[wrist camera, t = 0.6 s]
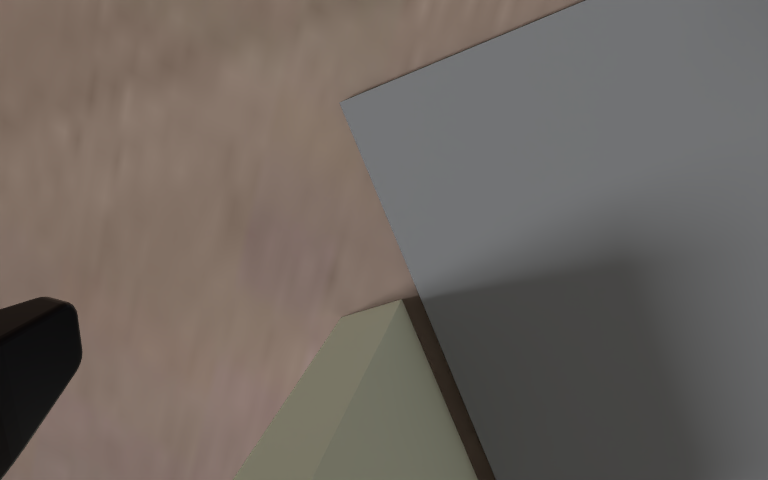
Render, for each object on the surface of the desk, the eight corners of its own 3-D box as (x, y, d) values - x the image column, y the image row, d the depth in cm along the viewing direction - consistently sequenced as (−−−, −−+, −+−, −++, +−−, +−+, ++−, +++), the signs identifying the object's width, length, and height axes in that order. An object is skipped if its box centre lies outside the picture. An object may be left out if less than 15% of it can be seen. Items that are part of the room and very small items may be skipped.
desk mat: (579, 671, 27) (579, 680, 27) (343, 100, 22) (339, 102, 22) (997, 630, 23) (1004, 640, 22) (824, -99, 17) (830, -102, 17)
